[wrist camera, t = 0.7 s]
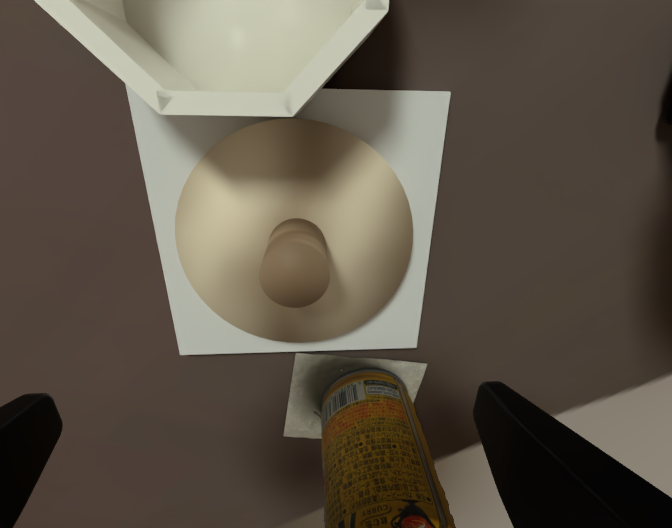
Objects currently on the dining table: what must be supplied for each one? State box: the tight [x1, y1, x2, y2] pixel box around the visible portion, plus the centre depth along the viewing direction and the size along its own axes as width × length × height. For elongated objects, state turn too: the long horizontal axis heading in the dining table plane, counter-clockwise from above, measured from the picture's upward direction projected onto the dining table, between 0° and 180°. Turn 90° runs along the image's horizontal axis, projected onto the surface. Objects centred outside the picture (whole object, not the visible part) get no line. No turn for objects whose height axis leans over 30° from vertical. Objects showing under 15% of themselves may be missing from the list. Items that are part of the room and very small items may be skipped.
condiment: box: [283, 353, 456, 528], centre depth 18 cm, size 7×8×12 cm
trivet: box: [126, 84, 451, 355], centre depth 18 cm, size 14×14×1 cm
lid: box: [175, 118, 413, 343], centre depth 16 cm, size 12×12×4 cm
